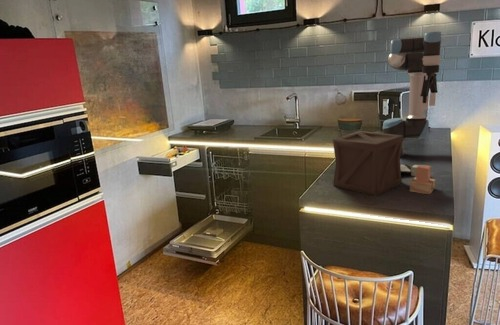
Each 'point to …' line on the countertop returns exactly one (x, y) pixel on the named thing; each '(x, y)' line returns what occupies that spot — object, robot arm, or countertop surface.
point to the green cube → (414, 170)
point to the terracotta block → (423, 173)
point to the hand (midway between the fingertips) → (428, 107)
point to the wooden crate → (368, 162)
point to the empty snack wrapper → (405, 168)
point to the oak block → (422, 186)
